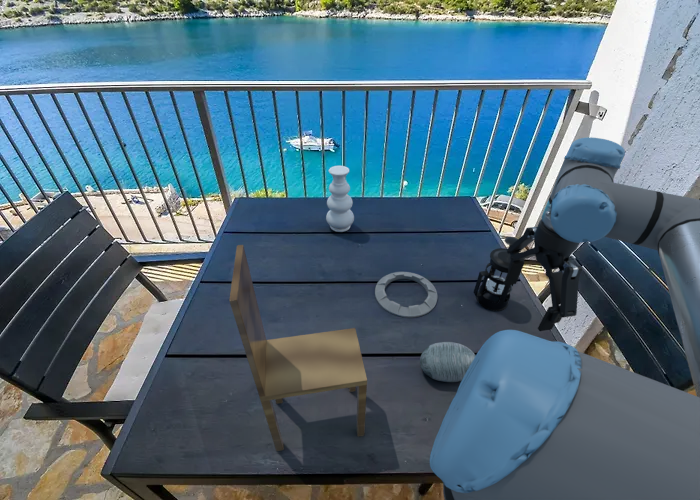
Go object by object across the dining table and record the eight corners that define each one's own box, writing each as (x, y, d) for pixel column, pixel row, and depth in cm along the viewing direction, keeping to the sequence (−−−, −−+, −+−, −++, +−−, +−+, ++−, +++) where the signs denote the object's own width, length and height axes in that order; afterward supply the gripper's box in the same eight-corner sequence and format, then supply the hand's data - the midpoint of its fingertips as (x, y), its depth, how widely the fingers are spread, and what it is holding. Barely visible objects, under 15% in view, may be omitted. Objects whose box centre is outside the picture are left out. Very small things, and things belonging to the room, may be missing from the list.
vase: (356, 221, 142) (357, 164, 126) (350, 237, 134) (350, 177, 118) (330, 218, 144) (328, 161, 128) (323, 233, 136) (319, 174, 120)
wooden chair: (364, 435, 76) (372, 283, 48) (276, 451, 74) (228, 300, 45) (354, 385, 85) (356, 233, 57) (276, 397, 83) (236, 245, 54)
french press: (501, 287, 112) (523, 229, 98) (515, 309, 104) (541, 249, 90) (466, 290, 111) (483, 231, 97) (478, 313, 103) (498, 253, 89)
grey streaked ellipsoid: (415, 383, 87) (435, 380, 78) (412, 344, 91) (430, 337, 82) (463, 383, 90) (487, 381, 82) (458, 346, 94) (480, 339, 85)
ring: (401, 327, 99) (402, 323, 98) (363, 287, 112) (363, 282, 111) (450, 300, 107) (451, 296, 106) (409, 265, 120) (410, 261, 119)
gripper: (507, 193, 73) (483, 269, 86) (592, 272, 53) (544, 354, 67) (540, 190, 74) (511, 266, 87) (635, 267, 54) (579, 349, 68)
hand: (525, 304), depth 77 cm, fingers open, 13 cm apart
